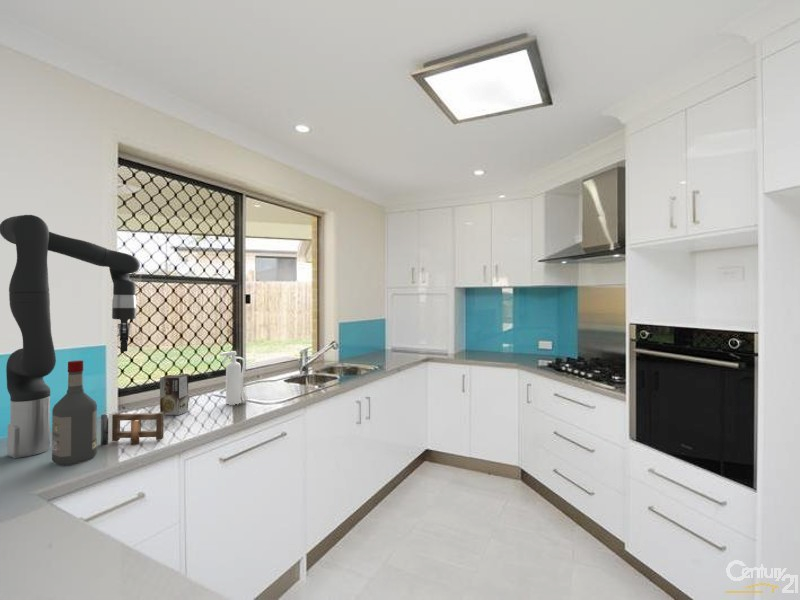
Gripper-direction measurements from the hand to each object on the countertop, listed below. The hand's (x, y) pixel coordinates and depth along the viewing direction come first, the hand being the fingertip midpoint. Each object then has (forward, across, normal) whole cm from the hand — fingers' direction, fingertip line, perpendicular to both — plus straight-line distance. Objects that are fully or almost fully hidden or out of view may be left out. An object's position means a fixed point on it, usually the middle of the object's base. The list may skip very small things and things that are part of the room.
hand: (123, 351), depth 149 cm
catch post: (+29, -25, -3) cm, 39 cm away
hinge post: (+29, -20, +5) cm, 35 cm away
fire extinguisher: (+29, +11, -43) cm, 53 cm away
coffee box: (+29, +9, -18) cm, 35 cm away
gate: (+28, -23, -4) cm, 37 cm away
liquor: (+29, -30, +12) cm, 44 cm away
